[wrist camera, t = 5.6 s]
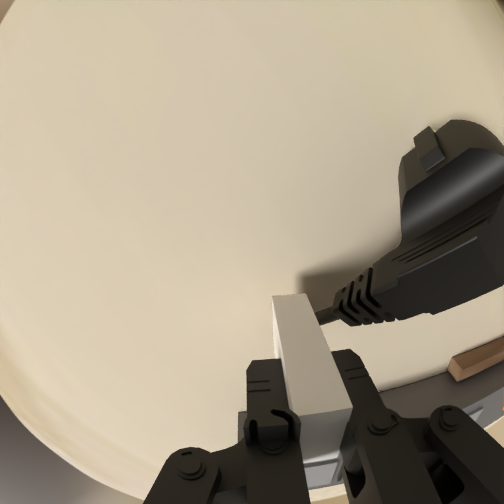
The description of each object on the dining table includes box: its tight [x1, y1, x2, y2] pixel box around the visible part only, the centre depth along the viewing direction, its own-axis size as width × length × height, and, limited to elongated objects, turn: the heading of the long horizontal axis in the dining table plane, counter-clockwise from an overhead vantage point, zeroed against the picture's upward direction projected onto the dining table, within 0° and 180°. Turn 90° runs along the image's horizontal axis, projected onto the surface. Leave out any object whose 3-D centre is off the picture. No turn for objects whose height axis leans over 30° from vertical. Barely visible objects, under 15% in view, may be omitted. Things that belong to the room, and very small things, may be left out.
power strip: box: [238, 360, 504, 490], centre depth 15 cm, size 6×26×4 cm, turn 94°
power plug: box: [314, 120, 504, 326], centre depth 11 cm, size 6×8×12 cm
